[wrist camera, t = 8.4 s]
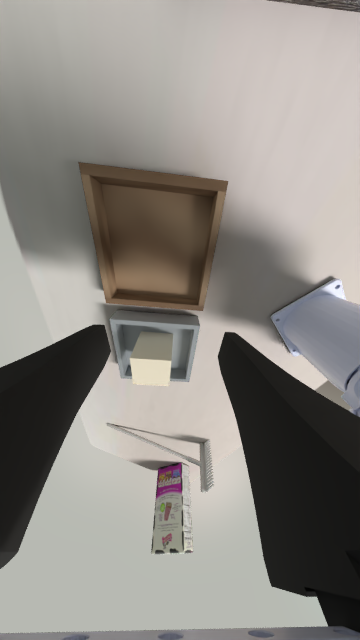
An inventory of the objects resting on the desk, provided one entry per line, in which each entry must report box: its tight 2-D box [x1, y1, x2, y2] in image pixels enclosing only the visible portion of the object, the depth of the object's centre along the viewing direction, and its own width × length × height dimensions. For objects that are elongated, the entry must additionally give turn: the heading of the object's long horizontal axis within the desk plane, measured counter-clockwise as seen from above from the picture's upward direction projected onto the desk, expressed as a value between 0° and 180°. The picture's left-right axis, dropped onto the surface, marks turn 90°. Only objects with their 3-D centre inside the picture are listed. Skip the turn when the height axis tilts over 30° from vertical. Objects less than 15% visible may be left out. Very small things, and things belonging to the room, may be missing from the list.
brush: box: [107, 423, 214, 493], centre depth 34 cm, size 4×27×9 cm, turn 63°
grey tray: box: [109, 310, 200, 382], centre depth 20 cm, size 11×11×2 cm
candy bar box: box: [151, 463, 193, 554], centre depth 44 cm, size 11×5×16 cm, turn 127°
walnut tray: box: [79, 162, 228, 311], centre depth 14 cm, size 11×11×2 cm
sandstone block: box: [130, 331, 173, 386], centre depth 18 cm, size 4×4×5 cm
